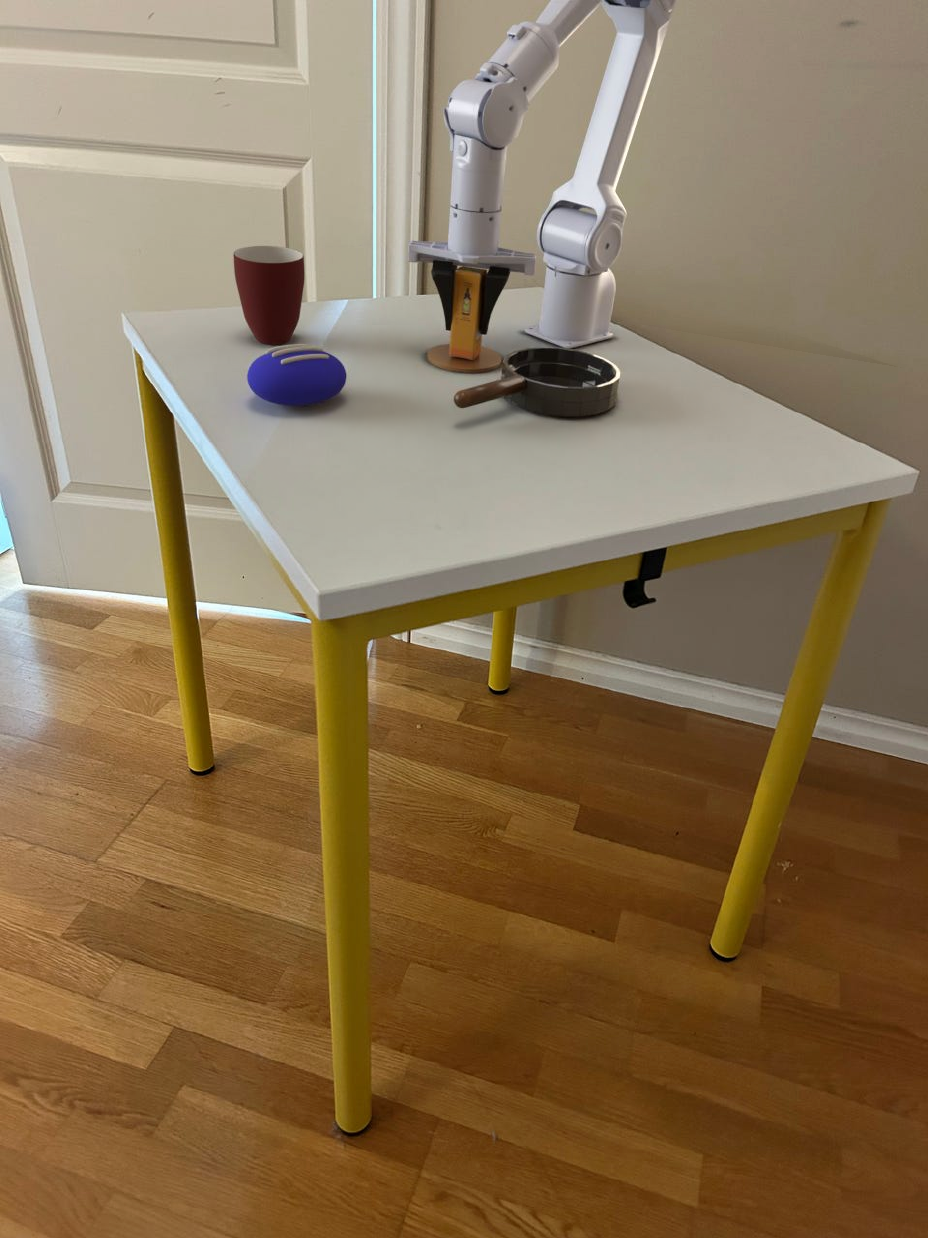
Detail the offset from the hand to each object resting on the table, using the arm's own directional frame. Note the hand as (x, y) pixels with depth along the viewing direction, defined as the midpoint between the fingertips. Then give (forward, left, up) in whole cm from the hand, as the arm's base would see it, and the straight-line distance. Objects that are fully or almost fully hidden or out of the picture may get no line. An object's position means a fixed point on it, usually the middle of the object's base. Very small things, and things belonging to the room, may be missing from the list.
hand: (466, 330), depth 105 cm
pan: (-1, +14, -4) cm, 15 cm away
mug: (+15, -18, -4) cm, 24 cm away
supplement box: (0, 0, -3) cm, 3 cm away
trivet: (0, 0, -4) cm, 4 cm away
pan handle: (+10, +15, -2) cm, 18 cm away
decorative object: (+24, 0, -4) cm, 24 cm away
